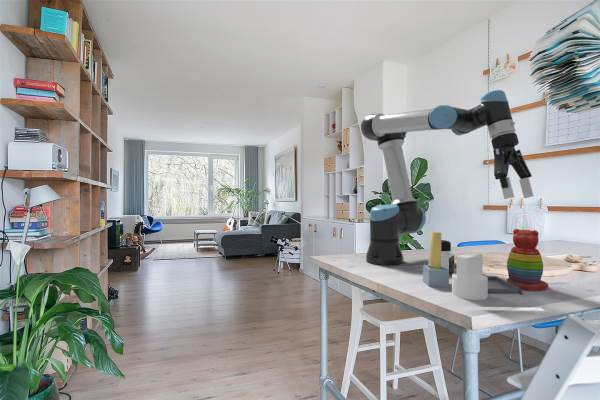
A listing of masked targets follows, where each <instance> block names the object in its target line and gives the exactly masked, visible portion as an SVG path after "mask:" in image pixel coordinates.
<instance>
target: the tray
mask: <svg viewBox="0 0 600 400" xmlns="http://www.w3.org/2000/svg"><path fill="white" fill-rule="evenodd" d="M485 276H486V277H487V278H488V294H519V295H520V296H522V295H523V290H522V289H521V288H519V287H517V286H515V285H513V284H511V283H509V282H507V280H506V279H503V278H501V277H500V276H498V275H485Z"/></svg>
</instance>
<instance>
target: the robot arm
mask: <svg viewBox="0 0 600 400" xmlns="http://www.w3.org/2000/svg"><path fill="white" fill-rule="evenodd" d="M512 117H513V115H512V113H511V108H510V104H509V100H508V98H507V95H506V93H505V91H504V90H502V89H497V90H491V91H489V92H485V93H484V95H482V96H481V97H480V104H478V105H476V106H475V107H472V108H470V109H466V108H465V109H464V108H461V107H460V108H459V107H455V106H451V105H446V104H445V105H437V106H435V107H434V108H427V109H420V110H414V111H413V110H412V111H407V112H406V111H405V112H398V113H392V114H391V113H389V114H384V113H381V112H380V113H379V112H378V113H370V114H368V115H366V116H364V118H363V119H362V121H361V123H360V131H361V134H362V135H363V136H364V138H365V139H367V140H370V141H375V142H377V147H378V149H380V150H382V154H383V159H384V163H385V164H384V165H385V169H386V175H387V180H388V183H389V190H390V195H391V199H392V201H391V203H390V204H380V205H376V206H373V207H371V209H370V212H369V213H370V214H369V231H370V233H369V238H370V239H369V241H370V242H369V245H368V248H367V252H366V255H365V261H366V262H367V263H370V264H372V265H373V264H374V265H383V266H392V265H393V266H394V265H395V266H396V265H401V264H403V263H404V254H403V252H402V249H401V246H400V235H406V234H414V233H417V232H419V231H420V230H421V231H422V229H423V228H424V226H425V224H426V220H427V219H426V213H425V210H424V209H422V207H420V206H419V204H418V200H417V199H415V198H414V197H413V194H412V190H411V189H412V188H411V184H410V179H409V175H408V174H409V173H408V170H407V169H408V168H407V165H406V160H405V154H404V151H403V145H404V143H405V139H406V137H407V134H408V133H410V132H413V133H414V132H422V131H433V130H436V131H437V130H450V131H451V132H452V133H453V134H454V135H455V136H458V137H459V136H460V137H461V136H463V135H467V134H470V133H471V132H474V131H476V130H478V129H481V128H483V127H485V126H487V130H488V134H489V138H490V139H491V146H492V149H493V150H492V151H493V156H494V157H493V167H494V169H493V176H494V179H495V180H499V183H500V187H501V192H502V195H503V199H504V200H507V199H512V198H515V194H514V191H513V190H514V189H513V186H512V183H511V179H510V176H509V175H508V174H509V168H510V166H511V167H512V168H513V170H514V171H515V173H516V174H517V176H518V178H520V179H519V185H520V188H521V192H522V196H523V199H527V198H528V199H529V198H532V197H534V192H533V189H532V185H531V181H530V178H532V176H533V175H532V173H531V171H530V169H529V167H528V165H527V162H526V161H525V159H524V157H523V155H522V152H521V150H520V149H517V150H516V149H515V147H516V146H518V145H519V143H520V141H519V138H518V137H519V136H518V134H517V133H516V129H515V127H516V126H515V124H516V122H515V121H513V118H512Z"/></svg>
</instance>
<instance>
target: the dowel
mask: <svg viewBox="0 0 600 400" xmlns="http://www.w3.org/2000/svg"><path fill="white" fill-rule="evenodd" d="M429 236H430V238H429V239H430V244H429V245H430V246H429V248H430V249H429V251H430V252H429V255H430V268H431V269H441V240H442V232H439V231H431V232H429Z"/></svg>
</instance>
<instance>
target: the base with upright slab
mask: <svg viewBox="0 0 600 400" xmlns="http://www.w3.org/2000/svg"><path fill="white" fill-rule="evenodd" d="M483 257H484V255H483V253H479V252H469V253H465V254H461V255H456V272H453V273H452V274H451V294H452V295H453V296H455V297H458V298H460V299H464V300H471V301H481V300H486V299H488V295H489V293H488V278H487V277H486V276H487V275H483V267H484V266H483V261H484V260H483Z"/></svg>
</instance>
